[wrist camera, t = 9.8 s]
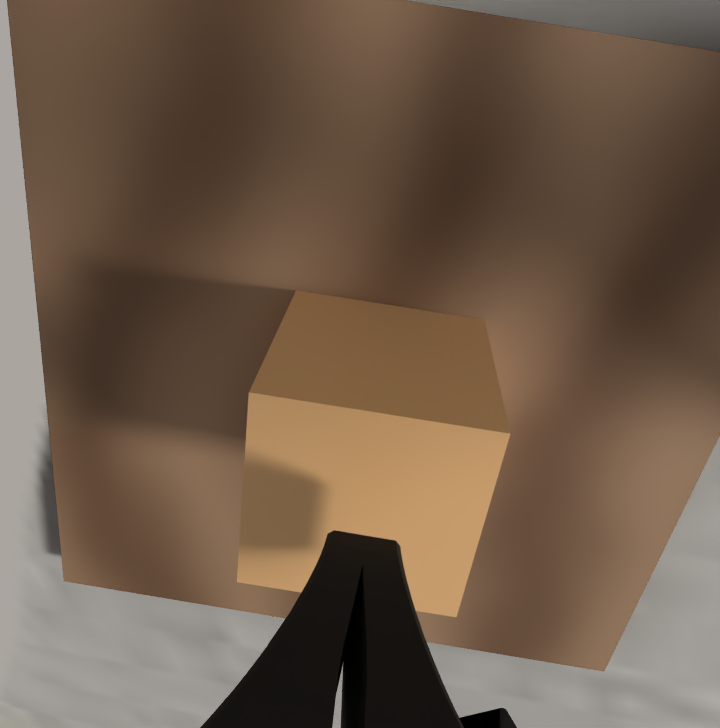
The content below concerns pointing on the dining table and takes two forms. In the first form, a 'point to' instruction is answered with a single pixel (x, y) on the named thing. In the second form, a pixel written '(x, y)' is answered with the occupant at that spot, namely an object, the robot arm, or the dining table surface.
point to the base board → (373, 275)
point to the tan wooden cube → (371, 443)
